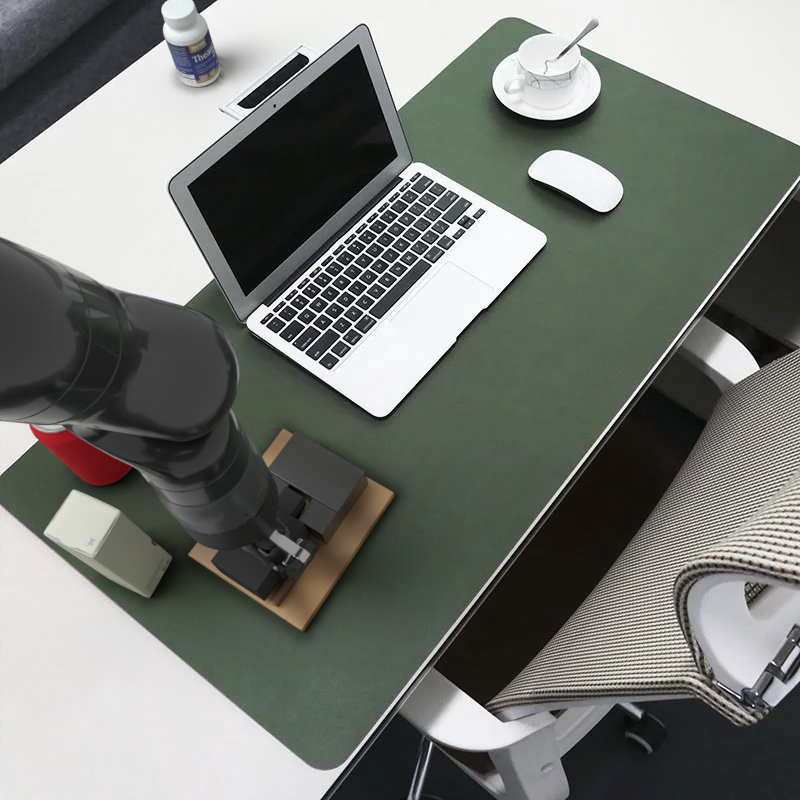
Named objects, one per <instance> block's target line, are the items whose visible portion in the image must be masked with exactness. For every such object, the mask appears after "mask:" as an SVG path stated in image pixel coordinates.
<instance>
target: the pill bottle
mask: <svg viewBox="0 0 800 800" xmlns="http://www.w3.org/2000/svg"><path fill="white" fill-rule="evenodd" d="M197 10H198V9H197V7H196V5H195V1H193V0H166V1H165V2H164V3H163V4H162V6H161V15H162V18H163V20H164V23H163V25H162V33H163V37H164V39H165V42H166V45H167V47H168V50H169V53H170V56H171V58H172V62H173V63H174V66H175V69H176V72H177V75H178V77H179V79H180V81H181V82H182V83H183V84H185V85H187V86H189V87H193V88H200V87H205V86H208V85H210V84H212V83H213V82H214V81H216V80H217V78H218V77H219V76H220V73H221V65H220V62H219V58H218V54H217V52H216V48H215V46H214V42H213V39H212V36H211V32H210V29H209V26H208V23H207V20H206V18H205V17H204V16H203V15H202V14H200V13H198V11H197Z"/></svg>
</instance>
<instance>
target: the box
mask: <svg viewBox="0 0 800 800" xmlns="http://www.w3.org/2000/svg"><path fill="white" fill-rule="evenodd" d="M43 535H44V536H45V537H46V538H48V539H49V540H50V541H51V542H53V543H55V544H56V545H58V546H59V547H60V548H62V549H64V550H65V551H67V552H68V553H70V554H71V555H72V556H74V557H75V558H77V559H79V560H80V561H81V562H83V563H84V564H86V565H88V566H89V567H90V568H92V569H93V570H94V571H96V572H98V573H99V574H101V575H102V576H104V577H105V578H107V579H108V580H110V581H112V582H114V583H116V584H117V585H119V586H121V587H124V588H126V589H128V590H130V591H132V592H134V593H136V594H139V595H141V596H142V597H145V598H147V599H149V598H151V596H152V595H153V593H154V592H155V590H156V588H157V587H158V585H159V583H160V582H161V580H162V577H163V576H164V574H165V572H166V571H167V569H168V568H169V566H170V564H171V561H172V559H173V556H172V555H171V554H170V553H169V552H168V551H166V550H165V549H164V548H163V547H162V546H161V545H160V544H158V543H157V542H156V541H155V540H153V538H152V537H151V536H149V535H148V534H147V533H146V532H145V531H144V530H143V529H141V527H140V526H138V525H136V523H134V522H133V521H132V520H131V519H130V518H129V517H127V516H126V514H124V513H123V511H121V510H120V509H118V508H116V507H114V506H112V505H111V504H108V503H107V502H104V501H102V500H100V499H98V498H96V497H93V496H91V495H89V494H86V493H84V492H81V491H79V490H77V489H72V490H71V491H70V493H69V494H68V496H67V497H66V498H65V499H64V501H63V503H62V504H61V506H60V507H59V509H58V510H57V511H56V513H55V514H54V516H53V518H52V519H51V520H50V522H49V523H48V525H47V526H46V528H45V530H44V531H43Z"/></svg>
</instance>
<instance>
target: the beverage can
mask: <svg viewBox="0 0 800 800" xmlns="http://www.w3.org/2000/svg"><path fill="white" fill-rule="evenodd" d="M28 425H29V429H30V430H31V433H32V435H33V436H34V437H35V438H36V439H37V440H38V441H39V442H40V443H41V444H42V445H43V446H44V447H46V448H47V449H48V450H49V451H50V452H51V453H52V454H53V455H54V456H55V457H57V459H59V460H60V461H61V462H62V463H63V464H64V465H65V466H67V468H68V469H70V471H72V472H73V473H74V474H75V475H76V476H77V477H79V479H81V480H82V481H83V482H85V483H87V484H90V485H92V486H107V485H110V484H113V483H115V482H117V481H119V480H121V479H123V478H124V477H125V476H126V475H127V474H128V473H129V471H130V470H131V469H132V468H133V467H132V466H130V465H128V464H126V463H124V462H122V461H120V460H117V459H115V458H113V457H111V456H110V455H108V454H106V453H105V452H103V451H101V450H99V449H98V448H96V447H94V446H92V445H90V444H89V443H87V442H85V441H84V440H82V439H80V438H79V437H77V436H76V435H74V434H72V433H71V432H70V431H68V430H67V429H66V428H64V427H63V426H62V425H35V424H28Z"/></svg>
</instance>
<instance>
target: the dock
mask: <svg viewBox="0 0 800 800" xmlns="http://www.w3.org/2000/svg"><path fill="white" fill-rule="evenodd" d="M262 457H263V459H264V461H265V463H266V465H267V467H268V469H269V471H270V472H271V474H272V476H273V478H274V480H275V482H276V485H277V489H278V496H279V495H280V493H281V492H282V490H283V489H284V488H285V487H288V488H290V489H291V490H293V491H295V492H296V493H298V494H300V495H301V496H303V497H304V500H305V502H306V504H307V505H306V506H305V508H304V509H303V511H302V512H301V513H300V515H299V516H298V518H297V520H299V521H301V522H302V523H304V525H305V527H306V529H307V531H308V533H309V535H310V537H309V539H308V540H311V541H313V542H314V544H315V545H316V546H317V550H316V553H315V557H314V558H313V560H312V561H311V562H310V563H309V565H308V566H307V568H306V569H305V570H304V572H303V573H302V575H301V577H300V579H299V580H298V582H297V581H295V580H293V581H292V580H291V579H289V578H288V577H287V578H286V579H283V578H281V579H280V580H279V581H278V583H277V584H276V586H275V587H274V589H273V590H272V591H271V593H270V594H269V596H268V597H267V599H266V600H265V601H263V600H262V599H260V598H259V597H257V596H256V595H254V594H253V593H251V592H250V591H248V590H247V589H245V588H244V587H242V586H241V585H239V584H238V583H236V582H235V581H233V580H231V579H230V578H228V577H227V576H225V575H224V574H222V573H221V572H220V571H219V570H218V569H217V568H216V567H215V566H214V564H213V563H212V562H211V560H212V559H213V557H214V556H215V554H216V553H217V552H218V550H215V549H211V548H208V547H205V546H203V545H201V544H200V543H198V542H197V541H196V543H195V544H194V545H193V547H192V548H191V550H190V551H189V552H188V554H187V556H188V557H189V558H190V559H192V560H193V561H195V562H196V563H197V564H199V565H200V566H202V567H204V568H205V569H206V570H208V571H210V573H213V574H214V575H216V576H217V577H218V578H220V579H221V580H223V581H224V582H226V583H228V584H229V585H231V586H232V587H234V588H235V589H237V590H238V591H239V592H241V593H243V595H246V596H247V597H249V598H250V599H252V600H253V601H254V602H256V603H258V604H259V605H260V606H262V607H264V608H265V609H267V610H268V611H270V612H271V613H273V614H274V615H276V616H277V617H279V618H280V619H282V620H283V621H285V622H286V623H288V624H289V625H291V626H292V627H294V628H295V629H297V630H299V631H300V632H301V633H303V632H305V630H306V629H307V628H308V626H309V624H310V623H311V622H312V620H313V619H314V617H315V616H316V615H317V613H318V611H319V610H320V608H321V607H322V605H323V604H324V602H325V601H326V600H327V598H328V597H329V595H330V593H331V591H332V590H333V589H334V587H335V586H336V584H337V583H338V581H339V580H340V578H341V577H342V575H343V574H344V573H345V571H346V570H347V568H348V566H349V565H350V563H351V562H352V560H353V559H354V558H355V556H356V554H357V553H358V551H359V550H360V549H361V547H362V546H363V544H364V542H365V541H366V539H367V538H368V536H369V535H370V533H371V532H372V531H373V529H374V528H375V526H376V524H377V523H378V521H379V520H380V519H381V517H382V515H384V513H385V511H386V510H387V509H388V507H389V505H390V504H391V502H392V501H393V499H394V498H395V493H394V492H393V491H392V490H390V489H389V488H387V487H385V486H384V485H382V484H379V483H378V482H376V481H375V480H373V479H371V478H370V477H368V476H367V473H366V471H364V470H363V469H361V468H360V467H358V466H356V465H354V464H353V463H351V462H349V461H348V460H346V459H344V458H342V457H341V456H339V455H337V454H335V453H334V452H332V451H330V450H328V449H327V448H325V447H324V446H321V445H320V444H318V443H317V442H315V441H314V440H311V439H310V438H308V437H306V436H304V435H303V434H301V433H299V432H298V431H295V432H293V433H292V432H290V431H289V430H287V429H285V428H282V429H281V431H280V432H279V433H278V434H277V436H276V438H275V439H274V440H273V441H272V442H271V444H270V445H269V446H268V447H267V449H266V451H264V453H263V455H262Z"/></svg>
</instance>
